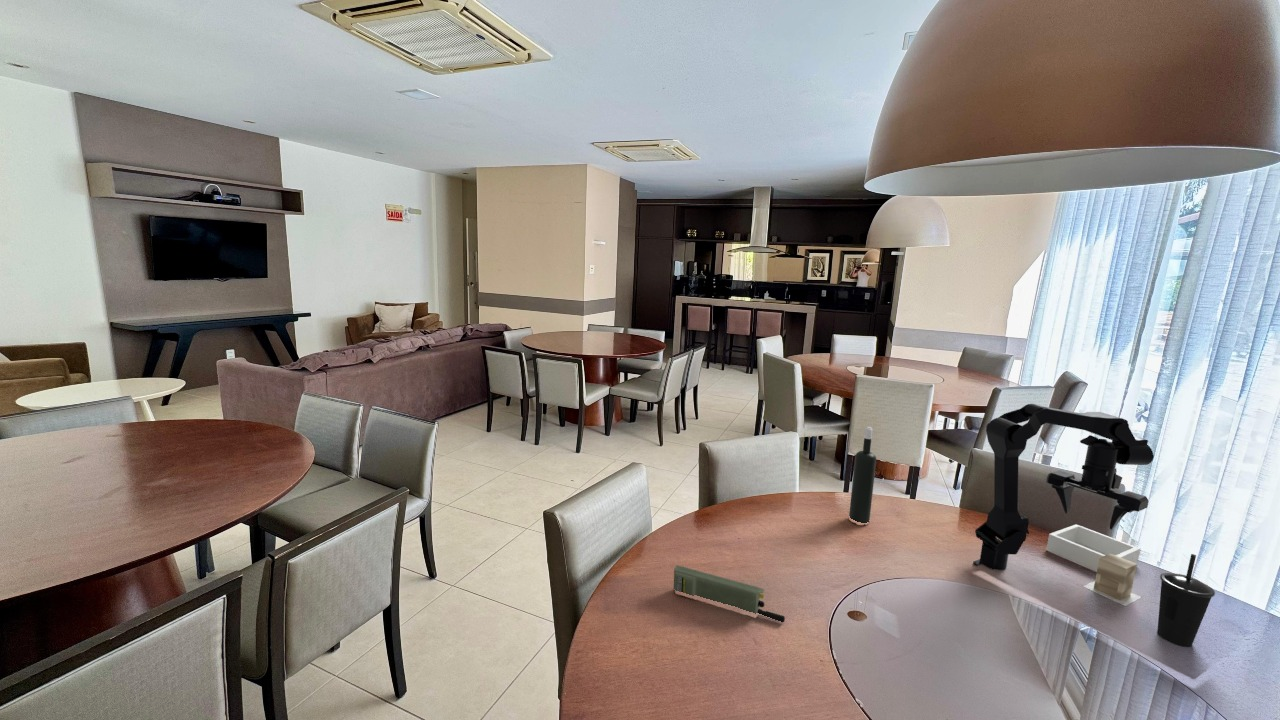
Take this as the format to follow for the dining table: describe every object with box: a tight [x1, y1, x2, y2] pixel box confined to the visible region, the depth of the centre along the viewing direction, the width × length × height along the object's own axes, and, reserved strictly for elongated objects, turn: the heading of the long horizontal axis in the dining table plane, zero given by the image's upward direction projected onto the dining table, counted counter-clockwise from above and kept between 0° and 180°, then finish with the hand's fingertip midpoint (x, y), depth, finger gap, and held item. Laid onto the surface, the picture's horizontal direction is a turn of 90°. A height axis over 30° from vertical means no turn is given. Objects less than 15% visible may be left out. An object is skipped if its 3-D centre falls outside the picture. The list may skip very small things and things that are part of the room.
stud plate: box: [1082, 580, 1142, 607], centre depth 120 cm, size 8×8×5 cm
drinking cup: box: [1156, 553, 1216, 648], centre depth 104 cm, size 8×8×20 cm
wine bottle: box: [848, 426, 877, 523], centre depth 152 cm, size 6×6×30 cm
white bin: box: [1046, 523, 1141, 573], centre depth 135 cm, size 14×14×6 cm
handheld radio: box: [673, 564, 786, 623], centre depth 113 cm, size 7×3×25 cm
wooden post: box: [1094, 554, 1138, 600], centre depth 120 cm, size 5×5×8 cm
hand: (1088, 521), depth 130 cm, fingers open, 9 cm apart
